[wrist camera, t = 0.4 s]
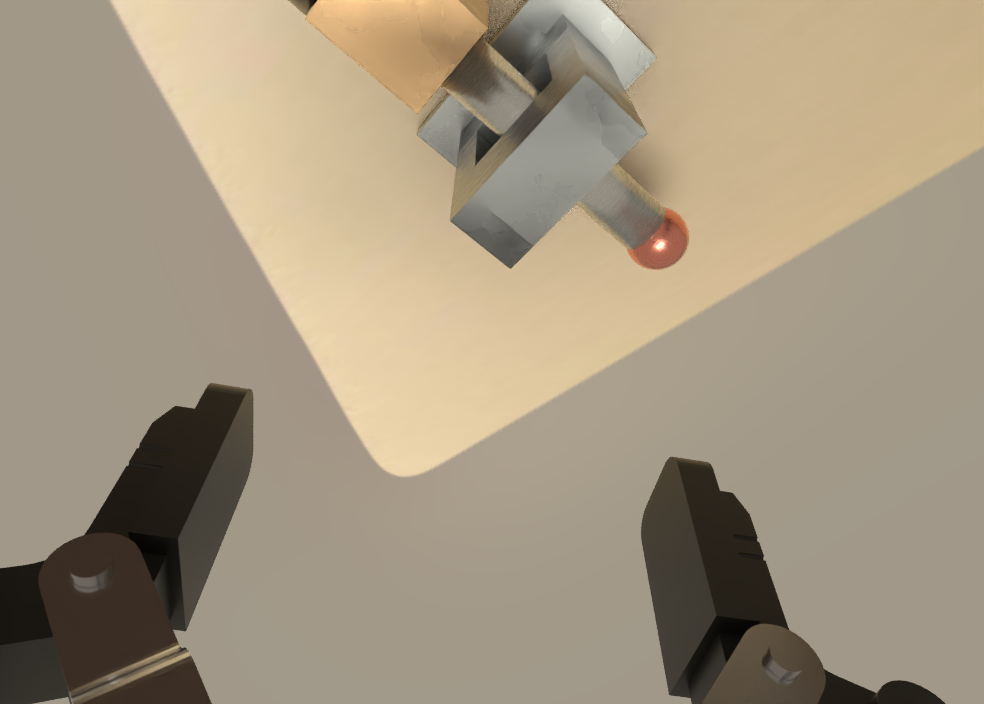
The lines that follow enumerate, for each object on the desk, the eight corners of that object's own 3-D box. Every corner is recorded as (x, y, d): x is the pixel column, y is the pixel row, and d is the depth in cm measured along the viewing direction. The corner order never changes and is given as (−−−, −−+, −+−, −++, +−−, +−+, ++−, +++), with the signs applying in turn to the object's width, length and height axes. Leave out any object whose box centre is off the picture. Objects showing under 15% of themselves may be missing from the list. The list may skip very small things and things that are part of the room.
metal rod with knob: (292, -23, 30) (259, -1, 26) (366, -135, 28) (343, -130, 24) (628, 267, 37) (645, 320, 33) (707, 196, 35) (735, 244, 31)
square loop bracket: (560, -43, 33) (586, 2, 23) (653, 52, 35) (709, 129, 26) (418, 128, 37) (392, 224, 28) (509, 203, 39) (513, 315, 30)
